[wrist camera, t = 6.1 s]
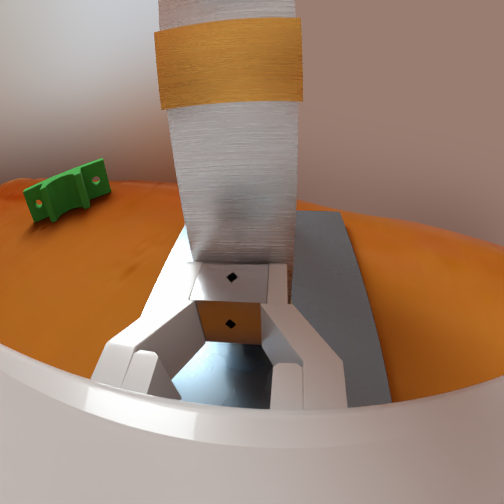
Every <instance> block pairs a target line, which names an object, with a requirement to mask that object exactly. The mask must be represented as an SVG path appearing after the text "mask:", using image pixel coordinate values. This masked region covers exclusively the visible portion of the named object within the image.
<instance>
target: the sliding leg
mask: <svg viewBox="0 0 504 504" xmlns="http://www.w3.org/2000/svg"><path fill="white" fill-rule="evenodd" d="M294 1H295V0H159V1H158V2H159V3H158V4H159V25H160V31H158V32H155V33H154V37H155V51H156V63H157V74H158V84H159V93H160V101H161V108H162V110H164V109H167V113H168V121H169V129H170V136H171V142H172V149H173V156H174V163H175V169H176V175H177V181H178V187H179V193H180V199H181V204H182V210H183V215H184V220H185V225H186V231H187V236H188V241H189V245H190V250H191V255H192V260H193V262H217V263H236V264H286V265H287V288H288V304H291V291H292V277H293V261H294V243H295V223H296V198H297V162H298V161H297V160H298V101H303V70H302V36H301V18H296V17H295V2H294ZM221 343H225V342H221ZM236 344H241V343H236Z"/></svg>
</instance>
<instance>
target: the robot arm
mask: <svg viewBox="0 0 504 504" xmlns="http://www.w3.org/2000/svg"><path fill="white" fill-rule="evenodd" d="M206 342H225V343H241V344H255V345H262V348H263V349H264V351H265V353H266V354H267V356H268V358H269V360H270V361H271V363H272V365H273V366H274V367H273V375H272V389H271V402H270V409H253V408H239V407H227V406H217V405H209V404H201V403H194V402H187V401H181V399H182V397H181V395H180V394H179V392H178V390H177V389H176V387H175V385H174V384H173V382H172V379H173V378H174V377H175V376H176V375H177V374H178V373H179V372H180V370H181V369H182V368H183V367H184V366H185V365H186V364H187V363H188V362H189V361H190V360H191V359H192V358H193V357H194V356H195V354H196V353H197V352H198V351H199V350H200V349H201V348H202V347H203V346H204V345H205V344H206ZM0 504H504V375H503V376H500V377H497V378H495V379H492V380H489V381H485V382H482V383H479V384H476V385H472V386H469V387H466V388H462V389H458V390H454V391H450V392H446V393H442V394H438V395H433V396H428V397H424V398H418V399H413V400H407V401H401V402H395V403H388V404H380V405H372V406H363V407H351V408H347V397H346V386H345V377H344V368H343V361H342V360H341V359H340V358H339V357H338V355H337V354H336V353H335V352H334V351H333V350H332V349H331V347H330V346H329V345H328V344H327V343H326V342H325V341H324V339H323V338H322V337H321V336H320V335H319V334H318V333H317V331H316V330H315V329H314V328H313V327H312V326H311V325H310V323H309V322H308V321H307V320H306V319H305V318H304V316H303V315H302V314H301V313H300V312H299V311H298V310H297V308H296V307H295V306H294V305H293V304H288V288H287V265H286V264H236V263H217V262H192V261H188V262H187V263H186V264H185V266H184V268H183V270H182V273H181V275H180V278H179V280H178V283H177V285H176V287H175V290H174V292H173V295H172V297H171V299H167V298H166V299H165V300H164V301H162V302H161V303H159V304H158V305H157V306H155V307H154V308H153V309H151V310H150V311H149V312H147V313H146V314H144V315H143V316H142V317H140V318H139V319H138V320H136V321H135V322H134V323H132V324H131V325H130V326H128V327H127V328H125V329H124V330H123V331H121V332H120V333H119V334H117V335H116V336H115V337H113V338H112V339H111V340H109V341H108V342H107V343H106V346H105V348H104V350H103V352H102V354H101V356H100V359H99V361H98V363H97V365H96V368H95V370H94V372H93V375H92V377H91V379H87V378H84V377H81V376H78V375H75V374H72V373H69V372H66V371H63V370H61V369H58V368H55V367H53V366H50V365H47V364H45V363H42V362H40V361H37V360H35V359H33V358H30V357H28V356H26V355H24V354H21V353H19V352H17V351H15V350H13V349H11V348H8V347H6V346H4V345H2V344H0Z"/></svg>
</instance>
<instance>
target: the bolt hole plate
mask: <svg viewBox="0 0 504 504" xmlns="http://www.w3.org/2000/svg"><path fill="white" fill-rule="evenodd" d="M188 261H192V262H193V260H192V255H191V250H190V245H189V241H188V236H187V231H186V225H185V226H184V228H183V230H182V232H181V234H180V236H179V237H178V239H177V241H176V243H175V245H174V247H173V249H172V251H171V253H170V255H169V257H168V259H167V261H166V263H165V265H164V267H163V269H162V272H161V274H160V276H159V278H158V280H157V282H156V284H155V286H154V288H153V290H152V293H151V295H150V297H149V299H148V301H147V304H146V306H145V308H144V310H143V312H142V315H141V317H142V316H143V315H144V314H146V313H147V312H149V311H150V310H151V309H153V308H154V307H155V306H157V305H158V304H159V303H161V302H162V301H164V300H165V299H166V298H167V299H171V297H172V295H173V292H174V290H175V287H176V285H177V283H178V280H179V278H180V275H181V273H182V270H183V268H184V266H185V264H186V263H187V262H188ZM291 304H293V305H294V306H295V307H296V308H297V310H298V311H299V312H300V313H301V314H302V315H303V316H304V318H305V319H306V320H307V321H308V322H309V323H310V325H311V326H312V327H313V328H314V329H315V330H316V331H317V333H318V334H319V335H320V336H321V337H322V338H323V339H324V341H325V342H326V343H327V344H328V345H329V346H330V347H331V349H332V350H333V351H334V352H335V353H336V354H337V355H338V357H339V358H340V359H341V360H342V361H343V368H344V377H345V386H346V397H347V408H351V407H363V406H372V405H380V404H388V403H392V401H391V395H390V389H389V384H388V379H387V374H386V369H385V364H384V360H383V355H382V351H381V346H380V342H379V338H378V334H377V330H376V326H375V322H374V318H373V314H372V311H371V307H370V303H369V300H368V296H367V293H366V289H365V286H364V283H363V279H362V276H361V273H360V269H359V266H358V263H357V260H356V257H355V254H354V251H353V248H352V245H351V242H350V239H349V236H348V233H347V231H346V228H345V225H344V222H343V219H342V217H341V214H340V212H330V211H296V223H295V243H294V261H293V277H292V291H291ZM273 367H274V366H273V365H272V363H271V361H270V360H269V358H268V356H267V354H266V353H265V351H264V349H263V348H262V345H255V344H236V343H221V342H206V344H205V345H204V346H203V347H202V348H201V349H200V350H199V351H198V352H197V353H196V354H195V356H194V357H193V358H192V359H191V360H190V361H189V362H188V363H187V364H186V365H185V366H184V367H183V368H182V369H181V370H180V372H179V373H178V374H177V375H176V376H175V377H174V378H173V379H172V382H173V384H174V385H175V387H176V389H177V390H178V392H179V394H180V395H181V397H182V399H181V401H187V402H194V403H201V404H209V405H217V406H227V407H239V408H253V409H270V402H271V389H272V375H273Z"/></svg>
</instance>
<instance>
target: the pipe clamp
mask: <svg viewBox="0 0 504 504" xmlns="http://www.w3.org/2000/svg"><path fill="white" fill-rule="evenodd" d="M95 176H98V177H100V180H99V181H98V182H93V181H92V179H93V177H95ZM110 192H111V189H110V185H109V181H108V178H107V174H106V169H105V165H104V161H103V158H101V159H99V160H95V161H92V162H90V163H87V164H84V165H81V166H79V167H76V168H74V169H71V170H68V171H66V172H63V173H61V174H58V175H56V176H54V177H51V178H49V179H47V180H44V181H42V182H40V183H38V184H35V185H33V186H31V187H29V188H27V189H25V190H24V191H23V194H24V196H25V199H26V202H27V205H28V207H29V210H30V213H31V215H32V218H33V220H34V223H35V222H38V221H40V220H42V219H44V218H47V217H50V220H51V222H52V223H53V222H55V221H57V219H58V218H59V217H60V216H61V215H62V214H63V213H65V212H66V211H68V210H71V209H73V208H77V207H83V208H84V210H85V209H87V208H90V200H91V199H93V198H96V197H99V196H101V195H104V194H107V193H110ZM36 200H41V201H42V204H41V205H38V204H37V203H36Z"/></svg>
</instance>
